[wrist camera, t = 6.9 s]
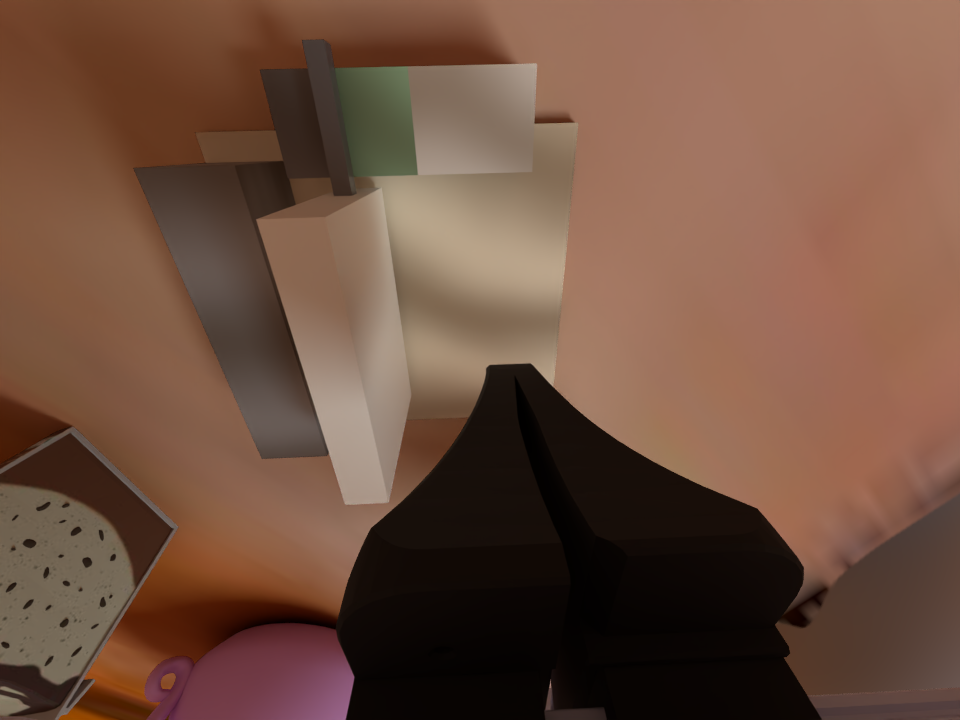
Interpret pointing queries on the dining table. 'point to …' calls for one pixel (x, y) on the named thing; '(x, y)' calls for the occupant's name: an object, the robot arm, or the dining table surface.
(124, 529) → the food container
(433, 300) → the frame
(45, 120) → the dining table surface
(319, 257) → the pad
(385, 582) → the robot arm
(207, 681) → the teapot
